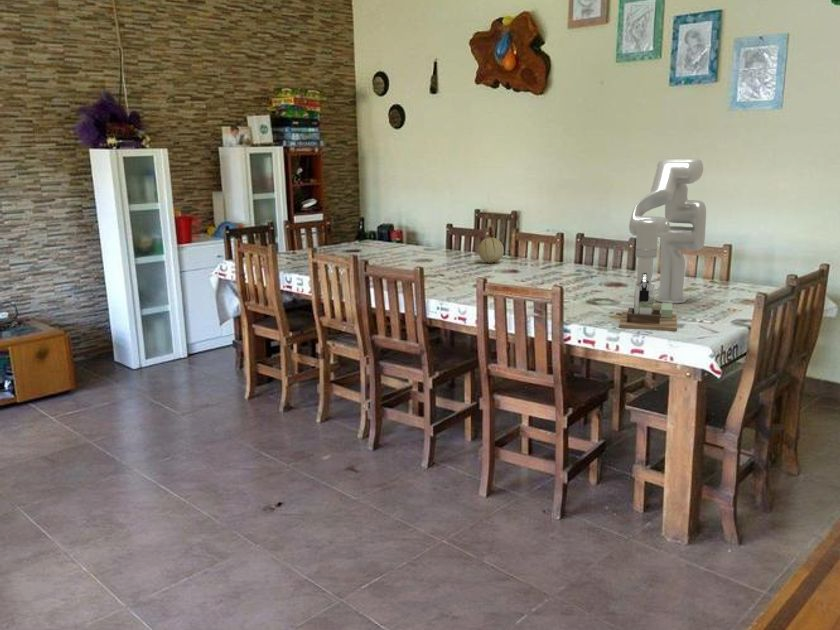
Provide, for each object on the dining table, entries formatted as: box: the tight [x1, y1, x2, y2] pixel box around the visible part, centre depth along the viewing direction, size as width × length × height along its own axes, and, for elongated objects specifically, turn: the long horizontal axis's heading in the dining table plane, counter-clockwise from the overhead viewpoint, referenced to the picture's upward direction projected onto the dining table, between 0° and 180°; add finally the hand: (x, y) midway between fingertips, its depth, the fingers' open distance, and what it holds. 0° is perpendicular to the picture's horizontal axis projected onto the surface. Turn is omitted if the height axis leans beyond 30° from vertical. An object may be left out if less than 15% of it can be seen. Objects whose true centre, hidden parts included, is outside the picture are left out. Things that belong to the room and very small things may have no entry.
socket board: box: [618, 307, 678, 332], centre depth 274 cm, size 22×20×4 cm
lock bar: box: [660, 302, 674, 318], centre depth 280 cm, size 13×4×3 cm, turn 162°
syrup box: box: [633, 280, 656, 315], centre depth 272 cm, size 6×6×14 cm
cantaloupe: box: [477, 236, 505, 264], centre depth 414 cm, size 15×15×15 cm
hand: (644, 298), depth 272 cm, fingers open, 9 cm apart
